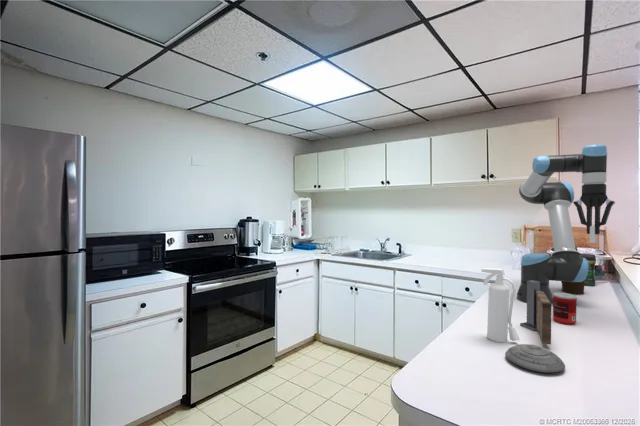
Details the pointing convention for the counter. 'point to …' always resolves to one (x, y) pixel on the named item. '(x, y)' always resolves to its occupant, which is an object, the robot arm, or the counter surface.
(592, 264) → the coffee jar
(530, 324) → the gate post
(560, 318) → the canned food
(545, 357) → the flying saucer
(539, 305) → the gate
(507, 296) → the fire extinguisher
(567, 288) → the olive oil
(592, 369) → the counter surface
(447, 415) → the counter surface
